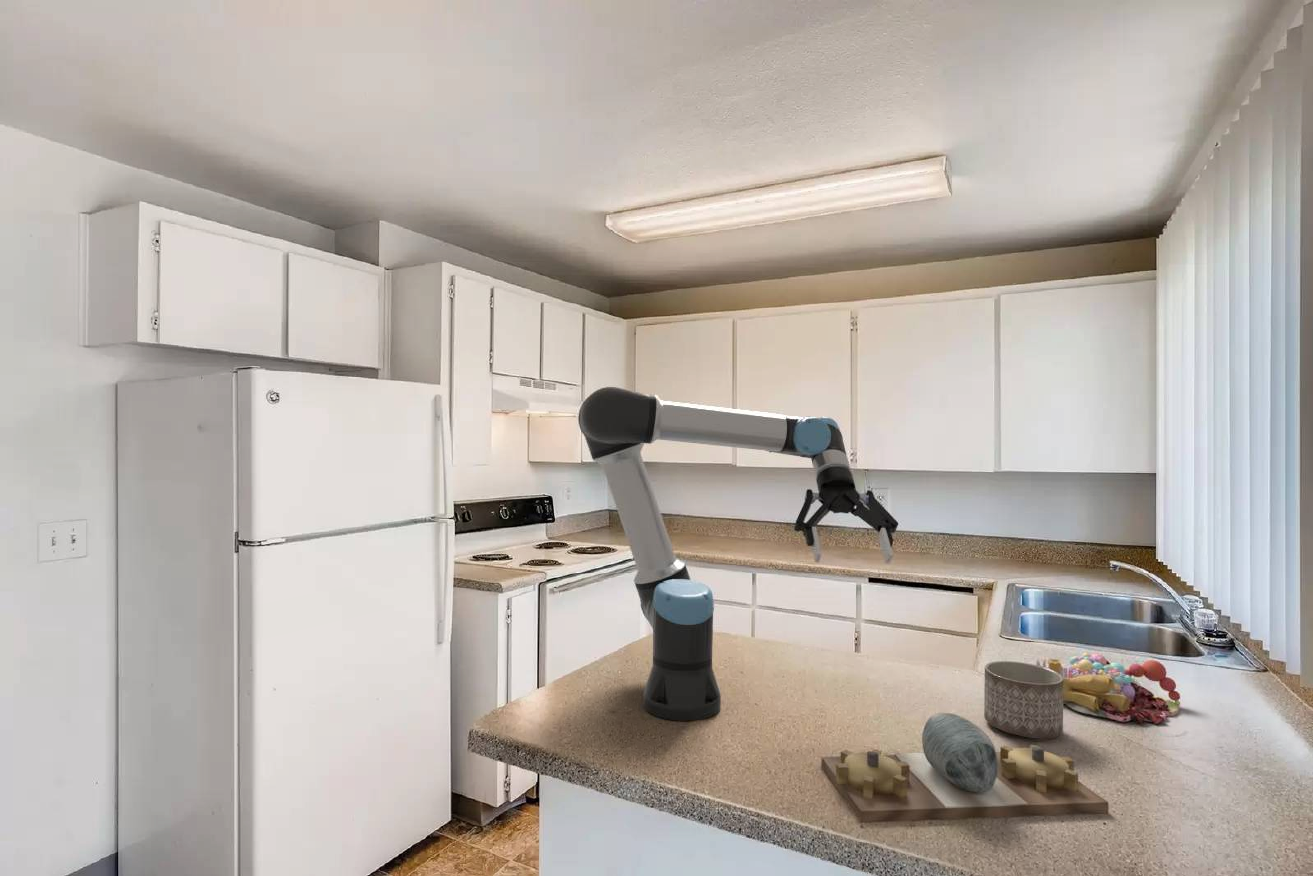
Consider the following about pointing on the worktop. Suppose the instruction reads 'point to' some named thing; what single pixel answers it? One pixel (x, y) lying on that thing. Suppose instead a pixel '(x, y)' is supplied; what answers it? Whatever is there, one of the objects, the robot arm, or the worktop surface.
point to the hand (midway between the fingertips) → (853, 559)
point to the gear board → (924, 794)
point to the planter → (1023, 699)
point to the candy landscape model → (1115, 689)
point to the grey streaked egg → (960, 752)
